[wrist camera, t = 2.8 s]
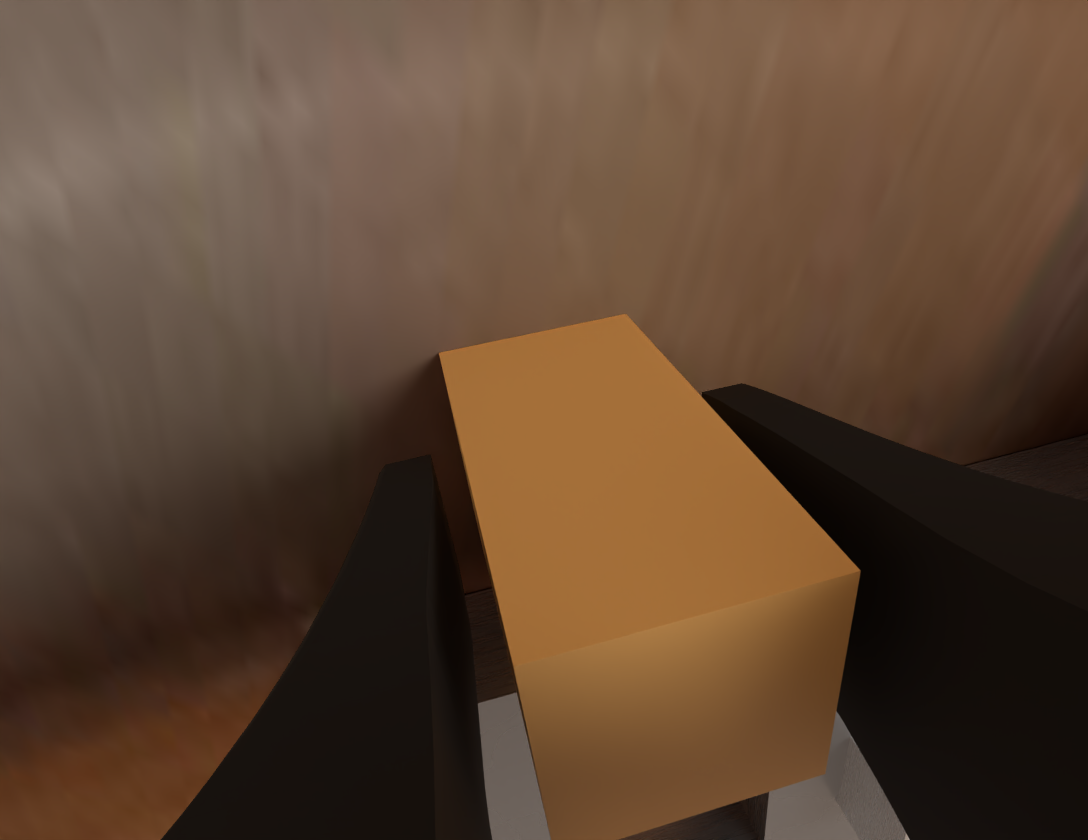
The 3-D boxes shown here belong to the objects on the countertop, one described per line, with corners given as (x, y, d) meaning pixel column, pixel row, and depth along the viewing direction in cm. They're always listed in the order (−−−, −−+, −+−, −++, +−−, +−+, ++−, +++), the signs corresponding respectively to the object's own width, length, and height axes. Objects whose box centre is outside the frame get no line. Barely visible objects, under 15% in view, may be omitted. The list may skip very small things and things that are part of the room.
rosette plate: (466, 900, 18) (478, 1009, 16) (359, 622, 13) (360, 737, 11) (985, 734, 20) (1054, 813, 18) (1098, 431, 15) (1216, 496, 13)
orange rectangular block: (472, 505, 12) (554, 859, 7) (438, 353, 10) (513, 666, 5) (635, 466, 12) (825, 774, 7) (625, 313, 11) (860, 571, 6)
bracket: (837, 802, 15) (989, 1051, 12) (850, 736, 14) (1026, 992, 10) (1080, 723, 16) (1294, 931, 12) (1115, 654, 15) (1364, 863, 11)
